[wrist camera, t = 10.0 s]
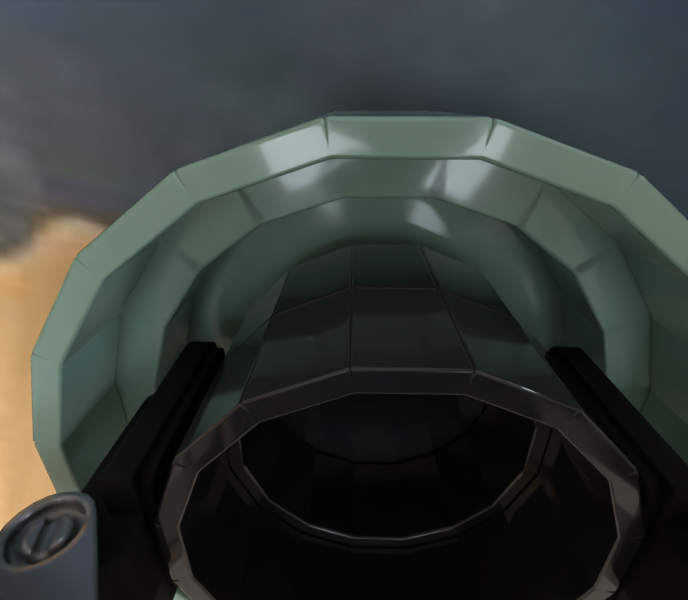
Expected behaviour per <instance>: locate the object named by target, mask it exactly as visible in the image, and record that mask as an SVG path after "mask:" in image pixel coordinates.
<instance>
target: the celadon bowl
mask: <svg viewBox="0 0 688 600" xmlns="http://www.w3.org/2000/svg"><path fill="white" fill-rule="evenodd" d="M349 245H351V246H353V245H418V246H419V247H420V246H424V247H426V248H428V249H431V250H433V251H435V252H438V253H440V254H443V255H445V256H447V257H450V258H452V259H455V260H457V261H459V262H462V263H464V264H466V265H469V266H471V267H474V268H476V269H478V270H479V272H482V273H483V274H484V275H485V277H486V278H487V279H488V280H489V281H490V282H491V283H492V284H493V285H494V286H495V288H496V289H497V290H498V291H499V292H500V293H501V294H502V295H503V296H504V298H505V299H506V300H507V301H508V302H509V303H510V304H511V305H512V306H513V307H514V309H515V310H516V311H517V312H518V313H519V315H520V316H521V317H522V319H523V320H524V321H525V323H526V324H527V325H528V327H529V328H530V329H531V330H532V332H533V333H534V334H535V336H536V337H537V338H538V340H539V341H540V342H541V344H542V345H543V346H544V347H545V349H546V350H547V351H548V352H549V350H550V349H551V348H552V347H554V346H559V347H580V348H581V349H582V350H583V351H584V352H585V353H586V354H587V355H588V356H589V357H590V359H591V360H592V361H593V362H594V363H595V364H596V365H597V366H598V367H599V368H600V369H601V371H602V372H603V373H604V374H605V375H606V376H607V377H608V378H609V379H610V380H611V382H612V383H613V384H614V385H615V386H616V387H617V388H618V389H619V390H620V391H621V393H622V394H623V395H624V396H625V397H626V398H627V399H628V400H629V401H630V402H631V404H632V405H633V406H634V407H635V408H636V409H637V410H638V411H639V412H640V413H641V414H642V416H643V417H644V418H645V419H646V420H647V421H648V422H649V423H650V424H651V425H652V427H653V428H654V429H655V430H656V431H657V432H658V433H659V434H660V435H661V436H662V438H663V439H664V440H665V441H666V442H667V443H668V444H669V445H670V446H671V447H672V448H673V450H674V451H675V452H676V453H677V454H678V455H679V456H680V457H681V458H682V459H683V461H684V462H685V463H686V464H687V465H688V219H687V218H686V217H685V216H684V215H683V214H682V213H681V212H680V211H679V210H678V209H677V208H676V207H675V206H674V205H673V204H671V203H670V202H669V201H668V200H667V199H666V198H665V197H664V196H663V195H662V194H661V193H660V192H659V191H658V190H657V189H656V188H655V187H654V186H653V185H652V184H651V183H650V182H649V181H648V180H647V179H646V178H645V177H644V176H643V175H641V174H638V173H637V172H636V171H635V170H633V169H630V168H627V167H625V166H622V165H620V164H617V163H614V162H612V161H609V160H606V159H604V158H601V157H598V156H596V155H593V154H591V153H588V152H585V151H583V150H580V149H577V148H575V147H572V146H569V145H567V144H564V143H562V142H559V141H556V140H554V139H551V138H548V137H546V136H543V135H540V134H538V133H535V132H533V131H530V130H527V129H525V128H522V127H519V126H517V125H514V124H511V123H509V122H506V121H504V120H501V119H498V118H490V117H487V116H478V115H468V114H459V113H450V112H441V111H383V110H338V111H336V112H335V111H333V112H330V113H327V114H324V115H321V116H319V117H316V118H313V119H310V120H307V121H305V122H302V123H299V124H296V125H293V126H291V127H288V128H285V129H282V130H279V131H277V132H274V133H271V134H268V135H265V136H263V137H260V138H257V139H254V140H251V141H249V142H246V143H243V144H240V145H238V146H235V147H233V148H230V149H227V150H225V151H222V152H219V153H217V154H214V155H211V156H209V157H206V158H203V159H201V160H198V161H195V162H193V163H190V164H187V165H185V166H182V167H179V168H178V169H177V170H175V171H172V172H171V173H169V174H168V175H167V176H166V177H165V178H164V179H163V180H161V181H160V182H159V183H158V184H157V185H156V186H155V187H153V188H152V189H151V190H150V191H149V192H148V193H147V194H145V195H144V196H143V197H142V198H141V199H140V200H139V201H137V202H136V203H135V204H134V205H133V206H132V207H131V208H129V209H128V210H127V211H126V212H125V213H124V214H123V215H121V216H120V217H119V218H118V219H117V220H116V221H115V222H113V223H112V224H111V225H110V226H109V227H108V228H107V229H105V230H104V231H103V232H102V233H101V234H100V235H99V236H97V237H96V238H95V239H94V240H93V241H92V242H91V243H89V244H88V245H87V246H86V247H85V248H84V249H83V250H81V251H80V252H79V253H78V254H77V256H76V258H75V259H74V260H73V262H72V264H71V266H70V269H69V271H68V273H67V275H66V278H65V280H64V282H63V284H62V286H61V289H60V291H59V293H58V295H57V297H56V300H55V302H54V304H53V306H52V309H51V311H50V313H49V315H48V317H47V320H46V322H45V324H44V326H43V328H42V331H41V333H40V335H39V337H38V339H37V342H36V344H35V346H34V348H33V351H32V355H31V382H32V419H33V441H34V442H35V447H36V449H37V451H38V453H39V455H40V458H41V460H42V462H43V464H44V466H45V468H46V471H47V473H48V475H49V477H50V479H51V482H52V484H53V486H54V488H55V490H56V492H57V493H61V492H71V491H78V492H81V491H82V490H83V488H84V487H85V485H86V484H87V483H88V481H89V480H90V478H91V477H92V475H93V474H94V472H95V471H96V470H97V468H98V467H99V465H100V464H101V462H102V461H103V460H104V458H105V457H106V455H107V454H108V452H109V451H110V449H111V448H112V447H113V445H114V444H115V442H116V441H117V439H118V438H119V436H120V435H121V434H122V432H123V431H124V429H125V428H126V426H127V425H128V424H129V422H130V421H131V419H132V418H133V416H134V415H135V413H136V412H137V411H138V409H139V408H140V406H141V405H142V403H143V402H144V401H145V400H146V398H147V397H148V396H151V395H154V393H155V392H156V390H157V389H158V387H159V386H160V384H161V383H162V381H163V380H164V378H165V377H166V375H167V374H168V372H169V371H170V369H171V368H172V367H173V365H174V364H175V362H176V361H177V359H178V358H179V356H180V355H181V353H182V352H183V350H184V349H185V347H186V346H187V344H188V343H189V342H191V341H208V342H215V343H216V345H217V348H223V349H224V352H225V356H226V354H227V352H228V350H229V348H230V346H231V344H232V342H233V340H234V338H235V336H236V334H237V332H238V330H239V328H240V326H241V324H242V322H243V320H244V318H245V316H246V314H247V312H248V310H249V308H250V307H251V306H252V305H253V304H254V303H255V302H256V301H257V300H258V299H259V298H260V297H261V296H262V295H263V294H264V293H265V292H266V291H267V290H268V289H269V288H270V287H271V286H272V285H273V284H274V283H275V282H276V281H277V280H278V279H279V278H280V277H281V276H282V275H283V274H284V273H286V272H287V271H288V270H289V269H291V268H292V267H294V266H297V265H299V264H302V263H305V262H307V261H310V260H312V259H315V258H318V257H320V256H323V255H325V254H328V253H331V252H333V251H336V250H338V249H341V248H344V247H346V246H349ZM173 600H192V599H190V598H189V597H188V596H187V595H186V594H185V593H184V592H183V591H182V590H181V589H180V588H179V587H178V588H177V591H176V594H175V596H174V599H173Z"/></svg>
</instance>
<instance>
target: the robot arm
mask: <svg viewBox="0 0 688 600" xmlns="http://www.w3.org/2000/svg"><path fill="white" fill-rule="evenodd" d="M548 353H549V354H550V355H551V357H552V358H553V359H554V361H555V362H556V363H557V365H558V366H559V367H560V368H561V370H562V371H563V372H564V373H565V375H566V376H567V377H568V379H569V380H570V381H571V383H572V384H573V385H574V387H575V388H576V389H577V391H578V392H579V393H580V394H581V396H582V397H583V398H584V400H585V401H586V402H587V404H588V405H589V406H590V408H591V409H592V410H593V411H594V413H595V414H596V415H597V417H598V418H599V419H600V421H601V422H602V423H603V425H604V426H605V427H606V428H607V430H608V431H609V432H610V434H611V435H612V436H613V438H614V439H615V440H616V442H617V443H618V444H619V446H620V447H621V448H622V449H623V451H624V452H625V453H626V455H627V456H628V457H629V459H630V460H631V461H632V463H633V464H634V465H635V467H636V469H637V471H638V477H639V485H640V493H641V501H642V509H643V517H644V525H645V533H646V534H645V535H644V536H645V538H644V540H643V542H642V544H641V546H640V547H639V549H638V551H637V553H636V555H635V557H634V558H633V560H632V562H631V564H630V566H629V568H628V570H627V571H626V573H625V575H624V577H623V579H622V581H621V582H620V584H619V586H618V588H617V590H616V591H614V593H613V594H612V595H611V596H609V597H608V598H607V599H605V600H688V465H687V464H686V463H685V462H684V461H683V459H682V458H681V457H680V456H679V455H678V454H677V453H676V452H675V451H674V450H673V448H672V447H671V446H670V445H669V444H668V443H667V442H666V441H665V440H664V439H663V438H662V436H661V435H660V434H659V433H658V432H657V431H656V430H655V429H654V428H653V427H652V425H651V424H650V423H649V422H648V421H647V420H646V419H645V418H644V417H643V416H642V414H641V413H640V412H639V411H638V410H637V409H636V408H635V407H634V406H633V405H632V404H631V402H630V401H629V400H628V399H627V398H626V397H625V396H624V395H623V394H622V393H621V391H620V390H619V389H618V388H617V387H616V386H615V385H614V384H613V383H612V382H611V380H610V379H609V378H608V377H607V376H606V375H605V374H604V373H603V372H602V371H601V369H600V368H599V367H598V366H597V365H596V364H595V363H594V362H593V361H592V360H591V359H590V357H589V356H588V355H587V354H586V353H585V352H584V351H583V350H582V349H581V348H580V347H559V346H554V347H552V348H551V349H550V350H549V352H548ZM224 358H225V352H224V349H223V348H217V345H216V343H215V342H208V341H191V342H189V343H188V344H187V346H186V347H185V349H184V350H183V352H182V353H181V355H180V356H179V358H178V359H177V361H176V362H175V364H174V365H173V367H172V368H171V369H170V371H169V372H168V374H167V375H166V377H165V378H164V380H163V381H162V383H161V384H160V386H159V387H158V389H157V390H156V392H155V393H154V395H151V396H148V397H147V398H146V400H145V401H144V402H143V403H142V405H141V406H140V408H139V409H138V411H137V412H136V413H135V415H134V416H133V418H132V419H131V421H130V422H129V424H128V425H127V426H126V428H125V429H124V431H123V432H122V434H121V435H120V436H119V438H118V439H117V441H116V442H115V444H114V445H113V447H112V448H111V449H110V451H109V452H108V454H107V455H106V457H105V458H104V460H103V461H102V462H101V464H100V465H99V467H98V468H97V470H96V471H95V472H94V474H93V475H92V477H91V478H90V480H89V481H88V483H87V484H86V485H85V487H84V488H83V490H82V491H81V492H78V491H71V492H61V493H57V494H54V495H50V496H47V497H45V498H43V499H41V500H39V501H36V502H34V503H33V504H31V505H30V506H28V507H27V508H25V509H24V510H22V511H20V512H19V513H18V514H17V515H16V516H14V517H13V518H12V519H11V520H10V521H9V522H8V523H7V524H6V525H5V526H4V527H3V529H2V530H1V531H0V600H173V599H174V596H175V594H176V591H177V588H178V586H177V585H176V584H175V583H174V582H173V579H171V576H170V573H169V570H168V567H167V564H166V561H165V558H164V555H163V552H162V549H161V546H160V543H159V540H158V537H157V534H156V531H155V528H154V518H155V515H156V512H157V509H158V506H159V502H160V499H161V496H162V493H163V490H164V486H165V483H166V480H167V477H168V474H169V470H170V467H171V464H172V461H173V459H174V457H175V455H176V453H177V451H178V449H179V447H180V445H181V443H182V441H183V439H184V437H185V435H186V433H187V431H188V429H189V427H190V425H191V423H192V421H193V419H194V417H195V415H196V413H197V411H198V409H199V407H200V405H201V403H202V401H203V399H204V397H205V395H206V393H207V391H208V389H209V387H210V385H211V383H212V381H213V379H214V377H215V375H216V373H217V371H218V369H219V367H220V366H221V364H222V362H223V360H224Z"/></svg>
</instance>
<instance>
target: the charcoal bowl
mask: <svg viewBox="0 0 688 600" xmlns="http://www.w3.org/2000/svg"><path fill="white" fill-rule="evenodd" d="M154 528H155V531H156V534H157V537H158V540H159V543H160V546H161V549H162V552H163V555H164V558H165V561H166V564H167V567H168V570H169V573H170V576H171V579H173V582H174V583H175V584H176V585H177V586H178V587H179V588H180V589H181V590H182V591H183V592H184V593H185V594H186V595H187V596H188V597H189V598H190V599H192V600H605V599H607V598H608V597H609V596H611V595H612V594H613V593H614V591H616V590H617V588H618V586H619V584H620V582H621V581H622V579H623V577H624V575H625V573H626V571H627V570H628V568H629V566H630V564H631V562H632V560H633V558H634V557H635V555H636V553H637V551H638V549H639V547H640V546H641V544H642V542H643V540H644V538H645V536H644V535H645V534H646V533H645V525H644V517H643V509H642V501H641V493H640V485H639V477H638V471H637V469H636V467H635V465H634V464H633V463H632V461H631V460H630V459H629V457H628V456H627V455H626V453H625V452H624V451H623V449H622V448H621V447H620V446H619V444H618V443H617V442H616V440H615V439H614V438H613V436H612V435H611V434H610V432H609V431H608V430H607V428H606V427H605V426H604V425H603V423H602V422H601V421H600V419H599V418H598V417H597V415H596V414H595V413H594V411H593V410H592V409H591V408H590V406H589V405H588V404H587V402H586V401H585V400H584V398H583V397H582V396H581V394H580V393H579V392H578V391H577V389H576V388H575V387H574V385H573V384H572V383H571V381H570V380H569V379H568V377H567V376H566V375H565V373H564V372H563V371H562V370H561V368H560V367H559V366H558V365H557V363H556V362H555V361H554V359H553V358H552V357H551V355H550V354H549V353H548V351H547V350H546V349H545V347H544V346H543V345H542V344H541V342H540V341H539V340H538V338H537V337H536V336H535V334H534V333H533V332H532V330H531V329H530V328H529V327H528V325H527V324H526V323H525V321H524V320H523V319H522V317H521V316H520V315H519V313H518V312H517V311H516V310H515V309H514V307H513V306H512V305H511V304H510V303H509V302H508V301H507V300H506V299H505V298H504V296H503V295H502V294H501V293H500V292H499V291H498V290H497V289H496V288H495V286H494V285H493V284H492V283H491V282H490V281H489V280H488V279H487V278H486V277H485V275H484V274H483V273H482V272H479V270H478V269H476V268H474V267H471V266H469V265H466V264H464V263H462V262H459V261H457V260H455V259H452V258H450V257H447V256H445V255H443V254H440V253H438V252H435V251H433V250H431V249H428V248H426V247H424V246H420V247H419V246H418V245H353V246H351V245H349V246H346V247H344V248H341V249H338V250H336V251H333V252H331V253H328V254H325V255H323V256H320V257H318V258H315V259H312V260H310V261H307V262H305V263H302V264H299V265H297V266H294V267H292V268H291V269H289V270H288V271H287V272H286V273H284V274H283V275H282V276H281V277H280V278H279V279H278V280H277V281H276V282H275V283H274V284H273V285H272V286H271V287H270V288H269V289H268V290H267V291H266V292H265V293H264V294H263V295H262V296H261V297H260V298H259V299H258V300H257V301H256V302H255V303H254V304H253V305H252V306H251V307H250V308H249V310H248V312H247V314H246V316H245V318H244V320H243V322H242V324H241V326H240V328H239V330H238V332H237V334H236V336H235V338H234V340H233V342H232V344H231V346H230V348H229V350H228V352H227V354H226V356H225V358H224V360H223V362H222V364H221V366H220V367H219V369H218V371H217V373H216V375H215V377H214V379H213V381H212V383H211V385H210V387H209V389H208V391H207V393H206V395H205V397H204V399H203V401H202V403H201V405H200V407H199V409H198V411H197V413H196V415H195V417H194V419H193V421H192V423H191V425H190V427H189V429H188V431H187V433H186V435H185V437H184V439H183V441H182V443H181V445H180V447H179V449H178V451H177V453H176V455H175V457H174V459H173V461H172V464H171V467H170V470H169V474H168V477H167V480H166V483H165V486H164V490H163V493H162V496H161V499H160V502H159V506H158V509H157V512H156V515H155V518H154Z"/></svg>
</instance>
